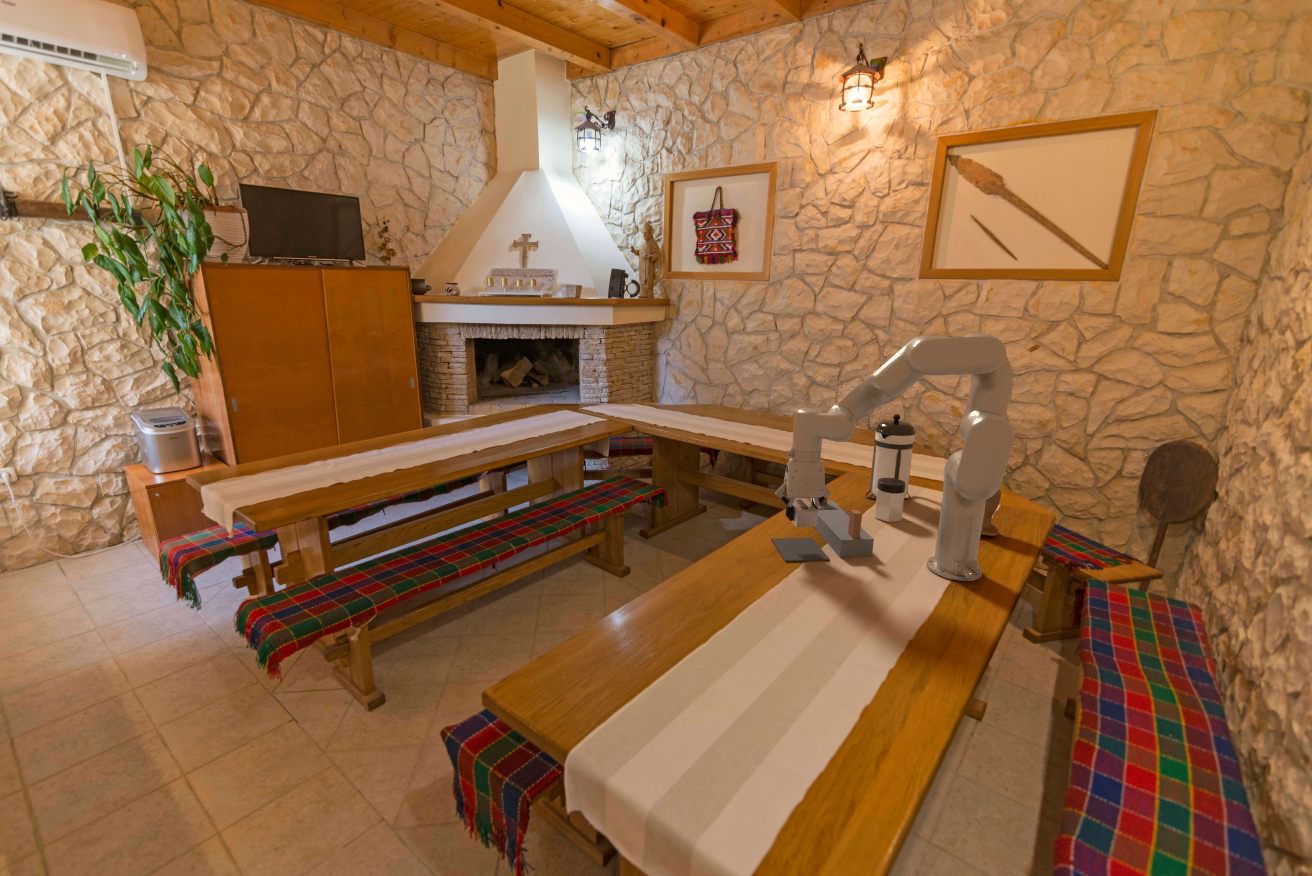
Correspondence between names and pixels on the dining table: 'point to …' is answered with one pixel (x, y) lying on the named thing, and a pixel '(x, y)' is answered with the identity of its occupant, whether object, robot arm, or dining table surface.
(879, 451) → the coffee press
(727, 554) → the dining table surface
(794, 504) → the light grey box
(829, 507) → the body
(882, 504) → the jar
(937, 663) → the dining table surface
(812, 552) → the rubber mat
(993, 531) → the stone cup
